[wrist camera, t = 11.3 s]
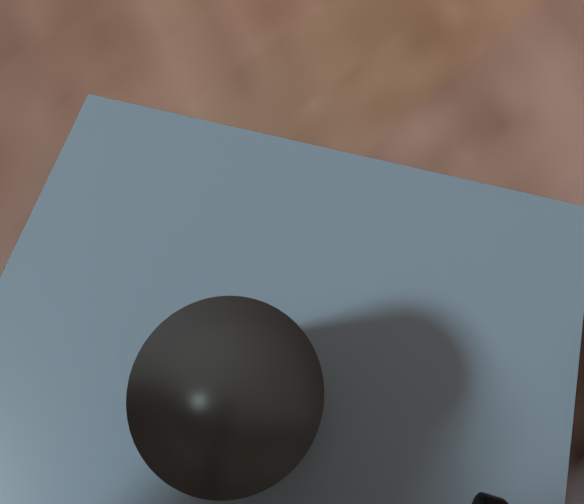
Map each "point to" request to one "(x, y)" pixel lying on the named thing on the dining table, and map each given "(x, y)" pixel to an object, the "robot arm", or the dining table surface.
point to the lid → (282, 326)
